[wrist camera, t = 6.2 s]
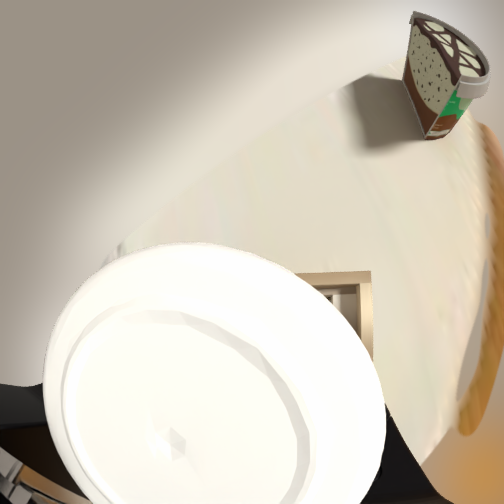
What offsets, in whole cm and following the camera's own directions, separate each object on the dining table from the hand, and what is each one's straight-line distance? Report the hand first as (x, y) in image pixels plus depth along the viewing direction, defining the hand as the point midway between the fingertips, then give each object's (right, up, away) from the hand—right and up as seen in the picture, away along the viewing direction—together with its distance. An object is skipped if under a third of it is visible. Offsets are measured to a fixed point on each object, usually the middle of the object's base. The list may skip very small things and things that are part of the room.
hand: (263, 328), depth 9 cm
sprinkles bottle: (+1, -3, +7) cm, 7 cm away
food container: (+20, +18, +15) cm, 31 cm away
